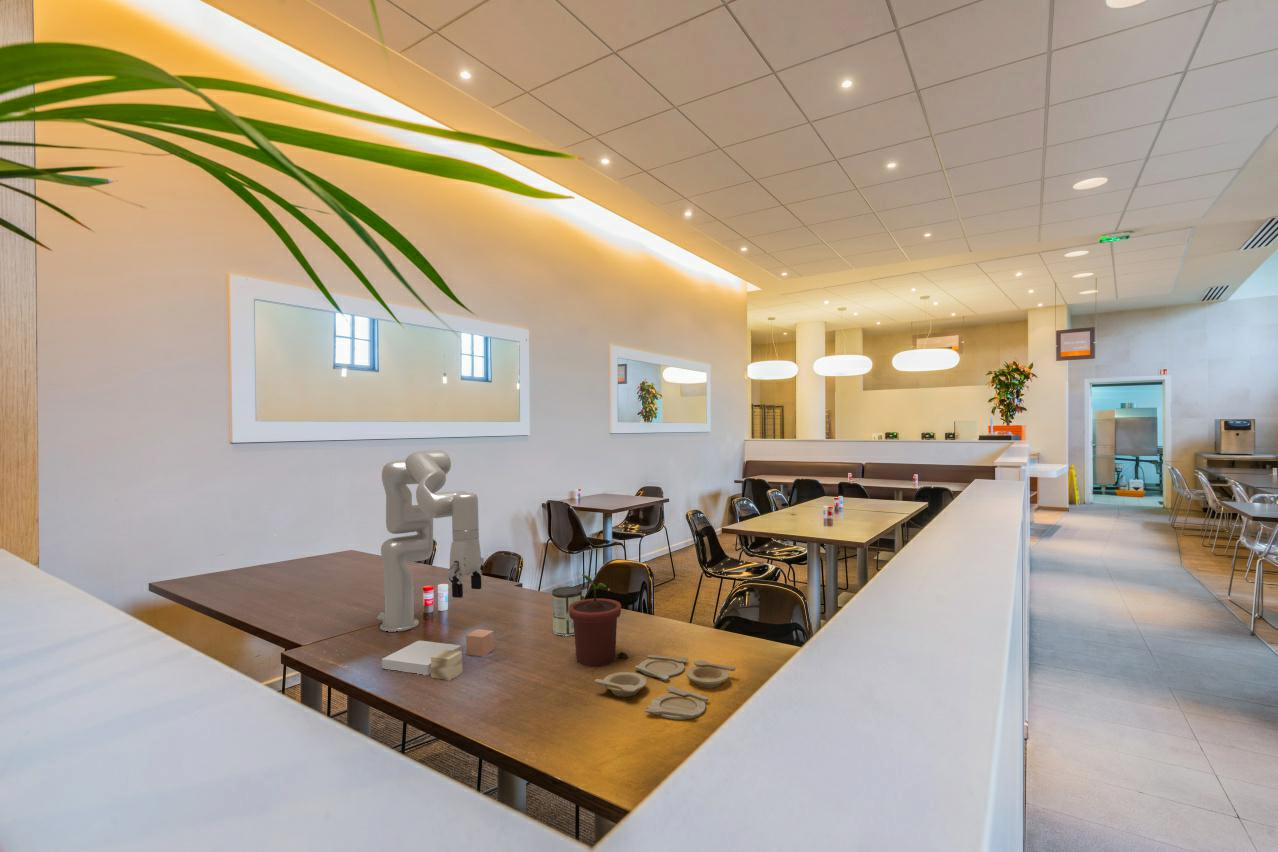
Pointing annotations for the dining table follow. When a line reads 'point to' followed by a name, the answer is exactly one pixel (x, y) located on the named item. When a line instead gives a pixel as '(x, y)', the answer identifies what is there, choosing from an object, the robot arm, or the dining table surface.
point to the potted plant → (595, 629)
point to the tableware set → (679, 700)
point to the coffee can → (564, 609)
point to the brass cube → (446, 664)
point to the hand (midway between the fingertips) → (467, 592)
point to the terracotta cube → (479, 642)
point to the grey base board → (416, 657)
